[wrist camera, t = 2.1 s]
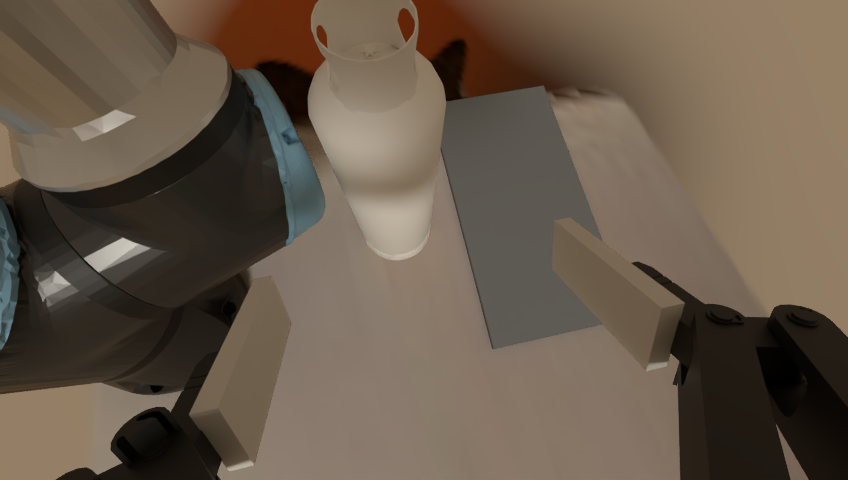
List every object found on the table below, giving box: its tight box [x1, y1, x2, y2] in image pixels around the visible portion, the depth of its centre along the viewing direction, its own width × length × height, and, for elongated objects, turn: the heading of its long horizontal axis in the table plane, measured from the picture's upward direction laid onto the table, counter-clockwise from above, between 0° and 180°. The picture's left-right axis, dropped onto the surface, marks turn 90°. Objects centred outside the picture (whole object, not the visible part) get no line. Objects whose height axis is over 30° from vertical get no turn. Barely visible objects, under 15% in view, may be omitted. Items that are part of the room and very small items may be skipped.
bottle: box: [308, 0, 446, 260], centre depth 29 cm, size 8×8×28 cm
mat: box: [441, 86, 603, 349], centre depth 43 cm, size 32×16×1 cm, turn 12°
